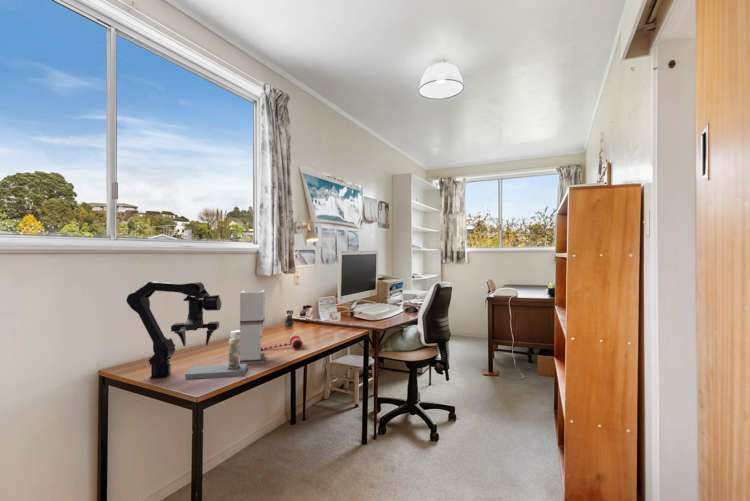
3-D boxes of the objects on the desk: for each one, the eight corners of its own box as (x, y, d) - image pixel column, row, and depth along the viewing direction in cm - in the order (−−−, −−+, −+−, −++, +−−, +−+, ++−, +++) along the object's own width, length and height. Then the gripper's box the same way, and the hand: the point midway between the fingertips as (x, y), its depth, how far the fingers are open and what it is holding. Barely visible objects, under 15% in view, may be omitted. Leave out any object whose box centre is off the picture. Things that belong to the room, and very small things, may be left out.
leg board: (185, 379, 159) (185, 374, 159) (192, 370, 170) (192, 366, 170) (243, 375, 164) (243, 370, 164) (247, 367, 175) (247, 363, 175)
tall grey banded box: (262, 363, 182) (262, 292, 182) (239, 364, 180) (240, 292, 180) (264, 356, 193) (264, 289, 193) (243, 358, 191) (243, 290, 191)
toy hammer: (260, 354, 200) (260, 342, 200) (259, 348, 211) (259, 337, 211) (303, 350, 207) (303, 338, 207) (300, 345, 218) (300, 334, 218)
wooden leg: (228, 374, 166) (228, 340, 166) (229, 370, 170) (229, 338, 170) (238, 373, 167) (238, 340, 167) (239, 370, 171) (239, 338, 171)
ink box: (244, 349, 207) (244, 328, 207) (249, 351, 204) (249, 329, 204) (230, 352, 201) (230, 331, 201) (234, 354, 197) (234, 332, 197)
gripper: (166, 314, 155) (166, 351, 155) (213, 312, 158) (214, 349, 158) (175, 310, 166) (175, 345, 166) (219, 308, 169) (219, 343, 169)
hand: (195, 345), depth 164 cm, fingers open, 9 cm apart
